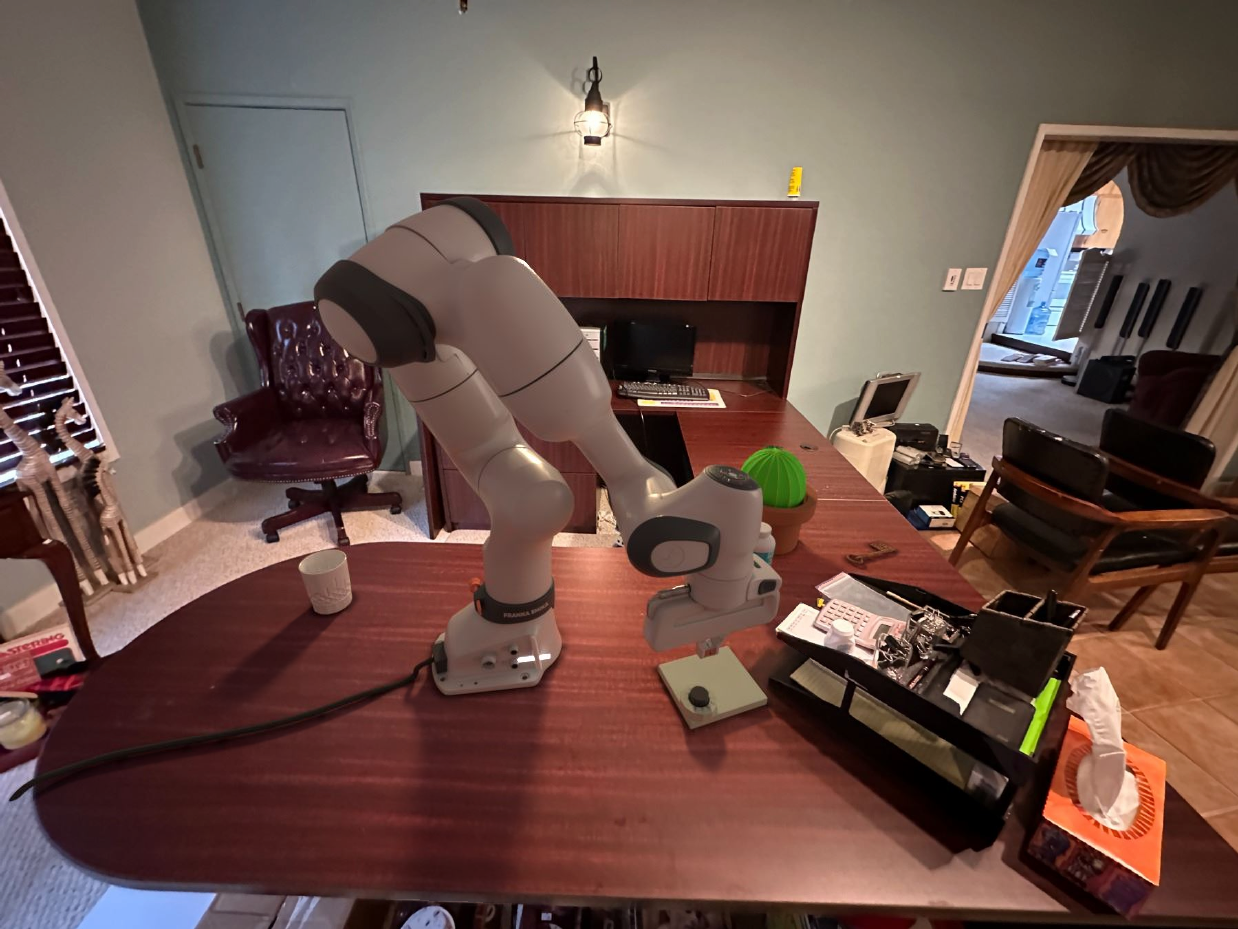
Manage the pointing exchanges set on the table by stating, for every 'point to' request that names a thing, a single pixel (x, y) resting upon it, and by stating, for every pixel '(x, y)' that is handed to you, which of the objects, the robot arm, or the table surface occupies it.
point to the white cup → (327, 580)
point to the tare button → (699, 696)
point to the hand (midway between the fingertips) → (706, 653)
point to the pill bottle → (765, 544)
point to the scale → (711, 686)
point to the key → (879, 546)
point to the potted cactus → (782, 494)
